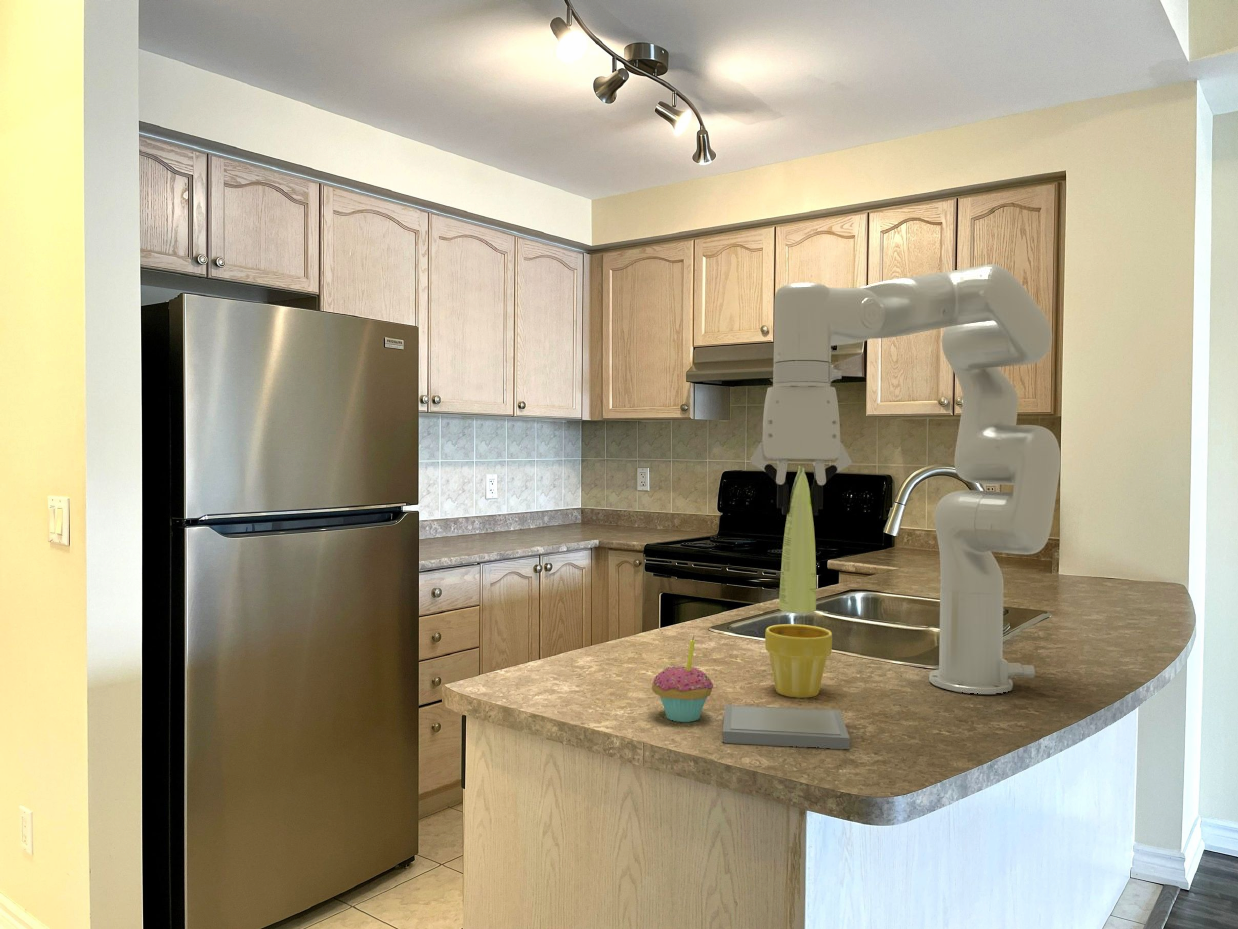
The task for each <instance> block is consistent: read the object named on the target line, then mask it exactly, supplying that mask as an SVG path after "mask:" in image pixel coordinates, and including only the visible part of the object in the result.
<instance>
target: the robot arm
mask: <svg viewBox="0 0 1238 929" xmlns="http://www.w3.org/2000/svg"><path fill="white" fill-rule="evenodd" d="M773 306H774V309H773V310H774V311H773V312H774V315H773V316H774V318H773V319H774V322H773V326H774V327H773V329H774V330H773V369H772V370H773V372H772V373H773V377H772V378H773V379H772V380H773V381H772V386H771V387H767V391H766V394H765V400H764V406H763V417H762V420H763V421H762V434H761V442H760V443H759V444H758V445H757V446H758V447H757V448H756V450H755V451H754V453H753V455H752V456H751V458H750V462H749V463H751V465H753V466H755V467H757V468H758V469H760V470H762V471H763V472H765V473H766V474H767V475H768V476H769V477H770V478H771V479H772V480H773V481H774V482H775V483H776V487H777V488H776V489H777V490H776V508H777V509H781V514H782V515H785V516H787V514H788V507H789V502H790V498H789V495H790V494H789V492H790V488H789V487H790V485H788V480H787V479H786V475H787V468H788V462H812V465H813V466H812V467H813V475H814V476H813V477H814V479H813V481H812V485H810V498H811V506H812V515H813V516H819V510H823V509H824V485H825V484H826V483H827V482H828V481H829V480H830V479H831V478H832V477H833V476H834V475H836V474H837V473H838V472H841V471H842V470H844V469H846V468H848V467H849V466H851V465H852V463H853V462H852V460H851V457H850V455H849V453H848V452H847V450H846V448H845V447H844V445H843V442H842V441H841V426H840V411H839V403H838V396H837V391H836V388H835V387H834V386H831V383H832V382H833V381H834V380H838V379H839V380H841V379H842V375H843V370H842V368H836V367H834V366H832V363H831V362H832V352H831V351H832V346H833V347H834V346H840V345H841V346H843V345H844V346H845V345H850V344H851V345H852V344H858V343H862V342H866V341H868V340H872V339H873V340H874V339H888V338H889V339H890V338H896V337H903V336H909V335H914V334H920V333H924V332H928V331H935V330H939V329H943V328H944V331H943V333H942V335H941V336H942V337H941V345H942V346H941V347H942V351H943V355H944V356H945V359H946V361H947V363H948V364H949V365H950V367H951V369H952V371H953V373H954V376H955V377H956V379H957V381H958V382H959V383H958V384H959V385H960V390H961V393H962V394H961V395H962V406H961V413H960V421H959V425H958V426H959V427H958V431H957V432H958V433H957V438H956V443H955V444H956V445H955V451H954V469H955V472H956V474H957V475H958V477H959V478H961V479H962V480H964V481H965V482H970V483H974V484H983V485H1005V486H1007V485H1009V486H1013V492H1011V491H1010V492H1008V491H996V490H995V491H994V490H977V489H976V490H974V489H970V490H969V489H967V490H966V489H965V490H964V489H963V490H957V491H952V492H949V493H947V494H946V495H944V496H943V497H941V499H940V500H939V501H938V503H937V504H936V507H935V511H934V528H935V533H936V539H937V543H938V550H939V551H938V552H939V561H940V562H939V563H940V565H939V567H940V568H939V569H940V571H939V572H940V577H939V578H940V584H939V585H940V589H939V648H938V650H939V654H938V655H939V658H938V661H939V663H938V665H939V666H938V669H935V670H932V671H930V672H929V673H928V677H929V678H928V681H929V682H930V684H932V685H933V686H936V687H938V688H941V689H945V690H948V691H952V692H957V693H962V692H963V694H970V693H974V694H973V695H997V694H996V693H1001V694H1004V693H1003V692H1006V693H1008V691H1009V692H1010V691H1012V690H1013V688H1014V687H1013V686H1014V684H1013V682H1014V681H1013V680H1011V679H1014V677H1021V678H1031V679H1032V678H1035V677H1036V671H1035V670H1036V669H1035V667H1034V665H1031V664H1028V665H1027V664H1022V663H1019V662H1009V661H1008V660H1006V659H1005V658H1004V657H1003V647H1004V646H1003V645H1004V644H1003V642H1004V641H1003V640H1004V639H1003V637H1004V636H1003V634H1004V632H1003V631H1004V587H1005V586H1004V576H1003V572H1002V570H1001V568H1000V565H999V564H998V561H997V559H996V558H995V556H994V555H993V553H992V552H995V553H1003V554H1005V553H1006V554H1013V555H1014V554H1016V555H1034V554H1036V553H1039V552H1040V551H1041V550H1042V549H1043V548H1044V547H1045V546H1046V544H1047V543H1048V541H1049V537H1050V534H1051V530H1052V526H1053V519H1054V514H1055V513H1054V511H1055V507H1056V506H1055V504H1056V499H1057V492H1058V486H1059V485H1058V484H1059V478H1060V473H1061V472H1060V471H1061V449H1060V445H1059V442H1058V440H1057V438H1056V435H1054V433H1053V432H1052V431H1051V430H1049V429H1048V428H1047V427H1044V426H1041V425H1035V424H1033V425H1032V424H1017V420H1018V411H1019V410H1018V409H1019V396H1018V393H1017V390H1016V389H1015V387H1014V385H1013V384H1012V382H1011V381H1010V380H1009V378H1008V377H1007V376H1006V375H1005V374H1004V372H1003V371H1002V370H1001V368H1003V367H1016V366H1017V367H1018V366H1026V365H1027V366H1028V365H1032V364H1033V365H1034V364H1036V363H1038V362H1041V361H1042V360H1043V359H1044V358H1045V357H1046V356H1047V355H1048V354H1049V352H1050V350H1051V348H1052V345H1053V331H1052V327H1051V324H1050V322H1049V320H1048V318H1047V316H1046V314H1045V313H1044V312H1043V310H1042V309H1041V308H1040V306H1039V305H1038V303H1037V302H1036V301H1035V300H1034V299H1033V297H1032V295H1031V294H1030V293H1029V292H1028V290H1026V288H1025V287H1024V285H1023V284H1022V283H1021V282H1020V280H1018V279H1017V277H1015V275H1013V274H1012V273H1011V272H1010V271H1009V270H1008V269H1006V268H1004V267H1003V266H1001V265H998V264H992V263H991V264H989V263H988V264H983V265H977V266H972V267H971V266H970V267H968V268H967V267H966V268H961V269H957V270H948V271H941V272H935V273H928V274H922V275H914V276H905V277H898V278H893V279H889V280H888V279H887V280H884V281H883V280H882V281H880V282H876V283H872V284H868V285H865V286H861V287H829V286H827V285H824V284H821V283H818V282H794V283H793V282H792V283H788V284H785V285H782V286H780V287H779V288H778V289H777V290H776V292H775V295H774V305H773ZM764 458H766V459H767V460H769V461H776V468H775V467H774V465H773V464H771V463H769V462H767V461H765V459H764ZM834 460H837V461H835V462H833V463H831V464H829V465H828V466H827V467H826V468H825V462H831V461H834ZM977 693H978V694H977Z"/></svg>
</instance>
